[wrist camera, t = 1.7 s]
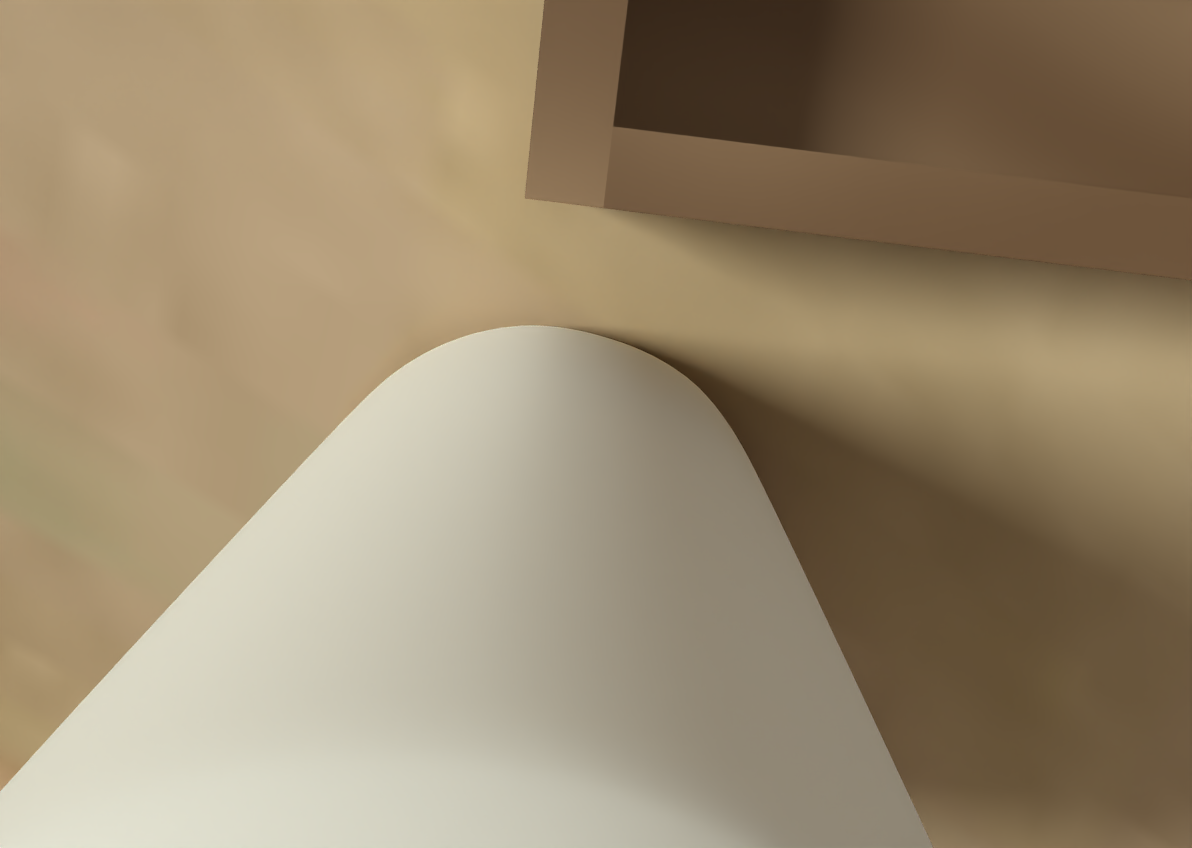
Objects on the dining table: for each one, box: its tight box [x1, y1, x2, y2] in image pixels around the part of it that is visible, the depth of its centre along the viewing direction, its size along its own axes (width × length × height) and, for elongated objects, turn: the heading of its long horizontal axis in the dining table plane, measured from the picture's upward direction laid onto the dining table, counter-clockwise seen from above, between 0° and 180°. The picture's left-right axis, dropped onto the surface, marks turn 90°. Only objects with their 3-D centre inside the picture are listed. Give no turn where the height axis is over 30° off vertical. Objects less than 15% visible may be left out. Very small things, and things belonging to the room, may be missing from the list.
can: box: [0, 325, 933, 848], centre depth 9 cm, size 6×6×12 cm
